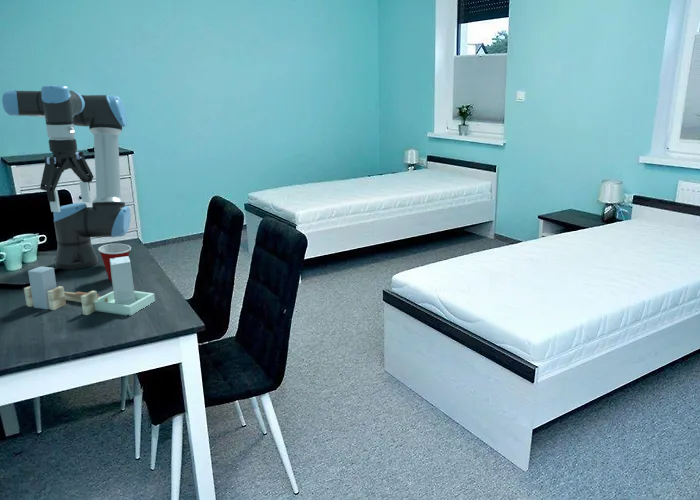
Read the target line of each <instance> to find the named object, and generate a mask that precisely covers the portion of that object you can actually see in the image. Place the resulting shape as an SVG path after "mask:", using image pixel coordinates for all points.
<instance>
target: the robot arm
mask: <svg viewBox="0 0 700 500" xmlns="http://www.w3.org/2000/svg"><path fill="white" fill-rule="evenodd" d="M1 97H2V99H1V103H2V107H3V110H4V112H5V113H6V114H7V115H9V116H14V117H15V116H16V117H21V116H22V117H23V116H24V117H25V116H26V117H37V118H43V119H45V127H46V133H47V134H46V135H47V138H49V140H48V147H49V151H50V152H51V153H52V157H51V156H45V157H44V168H43V171H42V172H43V173H42V177H41V181H40V187H39V189H40V190H42V191H44V192H45V191H46V194H47V200H48V202H49V207H50V211H51V213H53V223H54V229H55V236H56V241H57V250H56V255H55V258H54V266H55V265H56V266H57V267H59V268H58V269H61V270H78V269H84V268H89V267H92V266H94V265H96V264H97V263H98V262H99V256H98V254H97V253H96V251H95V249H94V247H93V244H92V240H91V238H116V237H117V238H119V237H124V236H125V235H126V234H128V231H129V229H130V224H131V219H132V218H131V217H132V216H131V215H132V214H131V209H130V207H129V206H127V205H126V201H125V200H124V199H122V198H121V179H120V175H121V174H120V173H121V172H120V151H119V149H120V147H119V136H120V135H121V134H122V133H123V128H125V127H126V126H127V123H128V120H127V119H128V118H127V112H126V109H125V105H124V103H123V101H122V99H121V98H120V97H119V96H118V95H111V94H110V95H108V94H96V95H95V94H91V95H90V94H87V95H85V94H80V93H79V92H78V91H74V90H70V88H69V87H68V86H67V85H63V84H62V85H59V84H57V85H56V84H55V85H53V84H52V85H43V86H42V87H41V88H40V90H5V91H4V92H3V94H2V96H1ZM76 126H77V127H88V130H89V132H90V133H91V134H92V135H93V141H94V142H93V143H94V145H93V147H94V149H93V150H94V168H95V169H94V170H95V171H94V172H95V195H96V196H95V197H96V198H95V199H94V200H91V193H90V192H91V188H90V187H91V186H90V183H92V182H93V179H94V175H93V172H92V171H91V168H90V167H89V164H88V162H87V161H86V158H85V155H84V152H83V151H78V145H77V139H76V138H75V137H76V131H75V127H76ZM68 169H71V171H73V173H74V174H75V175H76V176H77V177H78V178H79V180H80V181H79V187H80V194H81V201H82V202H77V203H76V202H75V203H70V204H66V205H60V198H59V194H58V193H59V192H58V190H56V188H57V185H58V183H59V181H60V179H61V176H62V174H63V173H64V172H65V171H66V170H68ZM86 203H92V206H88V205H87V204H86ZM56 266H55V267H56ZM57 267H56V268H57Z"/></svg>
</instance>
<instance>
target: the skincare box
mask: <svg viewBox="0 0 700 500" xmlns="http://www.w3.org/2000/svg"><path fill="white" fill-rule="evenodd" d="M110 267H111V277H112V281H111V283H112V291H113V292H114V298H115V303H116V304H123V305H131V304H133V303H135V302H136V301H135V294H134V291H135V286H134V281H133V279H134V278H133V271H132V265H131V259H130V257H129V256H125V257H118V258H111V259H110Z"/></svg>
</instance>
